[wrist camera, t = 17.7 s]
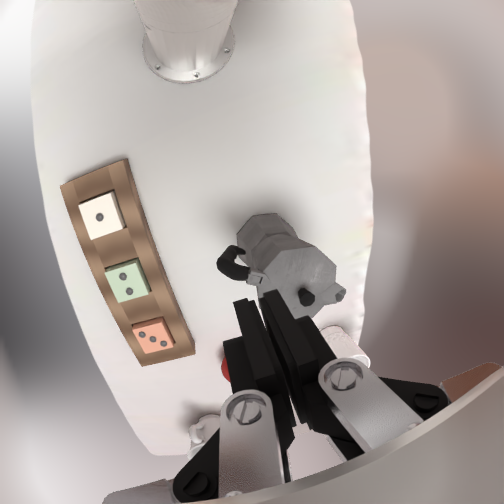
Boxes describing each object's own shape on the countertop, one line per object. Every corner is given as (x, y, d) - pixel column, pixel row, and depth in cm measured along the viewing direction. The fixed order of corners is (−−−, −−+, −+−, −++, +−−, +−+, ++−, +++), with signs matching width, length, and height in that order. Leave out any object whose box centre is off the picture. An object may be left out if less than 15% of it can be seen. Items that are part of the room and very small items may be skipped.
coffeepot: (314, 224, 45) (378, 271, 28) (292, 278, 48) (340, 344, 31) (219, 195, 41) (237, 232, 24) (200, 256, 43) (207, 325, 27)
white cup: (328, 317, 52) (352, 349, 43) (353, 330, 55) (377, 361, 46) (302, 347, 54) (321, 382, 44) (328, 358, 56) (349, 391, 47)
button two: (109, 263, 40) (104, 273, 37) (139, 254, 40) (135, 263, 37) (122, 292, 42) (118, 303, 38) (151, 284, 42) (148, 295, 39)
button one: (86, 200, 36) (77, 205, 33) (116, 189, 36) (109, 193, 33) (97, 233, 38) (90, 240, 35) (127, 222, 38) (122, 229, 35)
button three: (135, 318, 44) (131, 330, 40) (162, 311, 44) (161, 323, 41) (147, 341, 45) (145, 354, 42) (174, 335, 46) (173, 347, 43)
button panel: (67, 183, 35) (59, 186, 32) (127, 158, 36) (122, 160, 33) (143, 355, 48) (141, 366, 45) (194, 343, 49) (195, 354, 46)
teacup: (214, 391, 54) (219, 429, 44) (246, 423, 60) (255, 457, 50) (166, 410, 54) (166, 447, 44) (203, 439, 60) (207, 472, 50)
